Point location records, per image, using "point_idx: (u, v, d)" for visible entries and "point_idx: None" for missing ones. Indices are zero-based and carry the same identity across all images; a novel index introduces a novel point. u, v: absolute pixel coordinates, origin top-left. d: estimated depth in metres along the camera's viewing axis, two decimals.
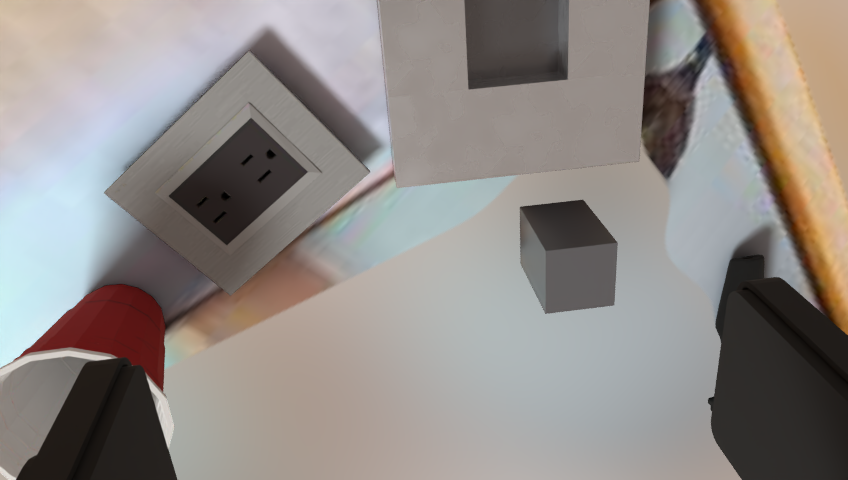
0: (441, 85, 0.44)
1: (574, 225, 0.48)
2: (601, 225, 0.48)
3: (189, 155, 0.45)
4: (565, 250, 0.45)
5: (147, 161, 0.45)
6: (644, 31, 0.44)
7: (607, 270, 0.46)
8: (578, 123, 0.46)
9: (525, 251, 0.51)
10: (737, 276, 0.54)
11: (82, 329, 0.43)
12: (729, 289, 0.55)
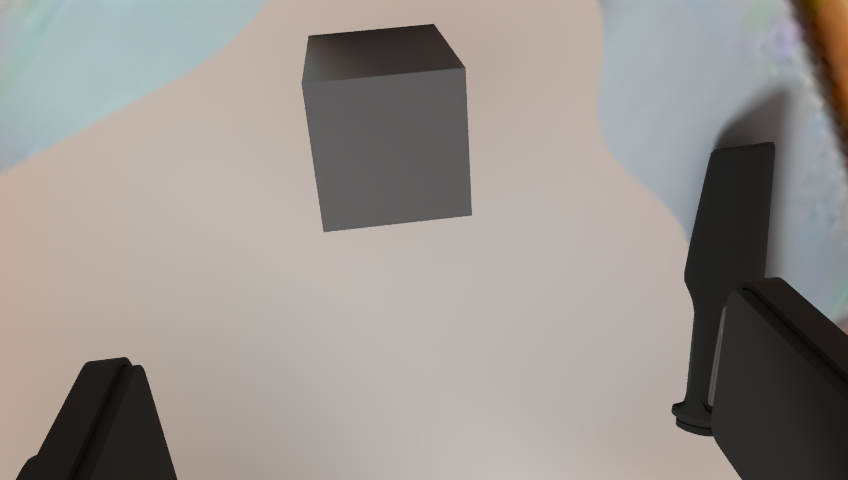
0: None
1: (393, 51, 0.23)
2: (447, 48, 0.23)
3: None
4: (347, 83, 0.20)
5: None
6: None
7: (449, 134, 0.21)
8: None
9: None
10: (724, 181, 0.29)
11: None
12: (709, 207, 0.30)
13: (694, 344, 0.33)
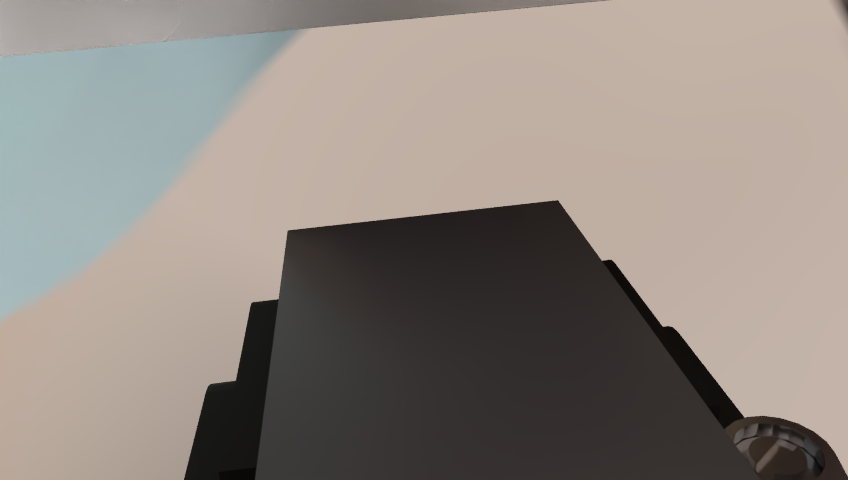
0: None
1: (502, 344, 0.09)
2: (650, 345, 0.08)
3: None
4: None
5: None
6: None
7: None
8: None
9: None
10: None
11: None
12: None
13: None
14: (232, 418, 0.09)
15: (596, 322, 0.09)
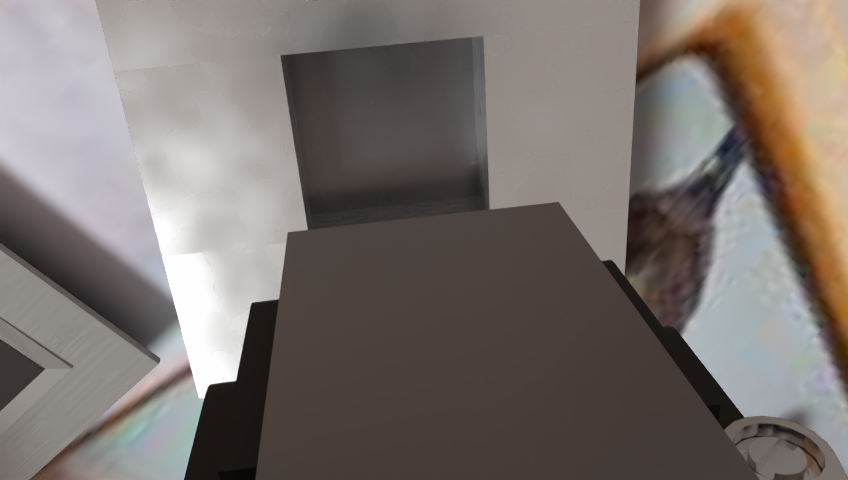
0: (258, 234, 0.24)
1: (502, 347, 0.09)
2: (652, 348, 0.08)
3: None
4: None
5: None
6: (626, 136, 0.24)
7: None
8: None
9: None
10: None
11: None
12: None
13: None
14: (232, 418, 0.09)
15: (597, 325, 0.09)
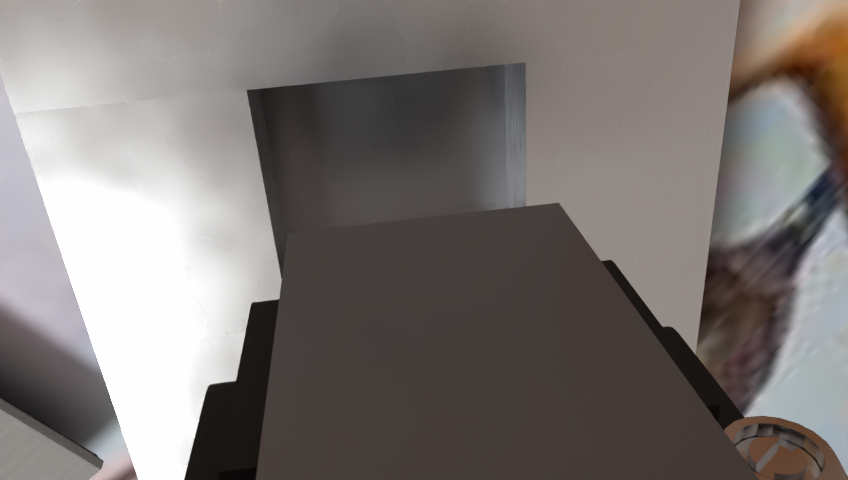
0: (223, 321, 0.18)
1: (503, 348, 0.09)
2: (652, 349, 0.08)
3: None
4: None
5: None
6: (708, 191, 0.18)
7: None
8: None
9: None
10: None
11: None
12: None
13: None
14: (232, 418, 0.09)
15: (598, 326, 0.09)
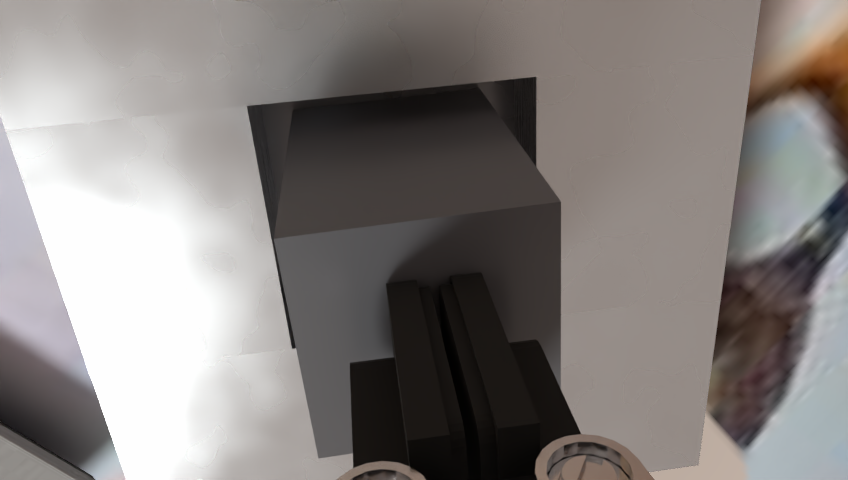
0: (222, 343, 0.18)
1: (426, 151, 0.14)
2: (514, 148, 0.14)
3: None
4: (355, 235, 0.11)
5: None
6: (725, 209, 0.18)
7: (528, 307, 0.12)
8: None
9: None
10: None
11: None
12: None
13: None
14: (404, 391, 0.09)
15: (485, 140, 0.14)
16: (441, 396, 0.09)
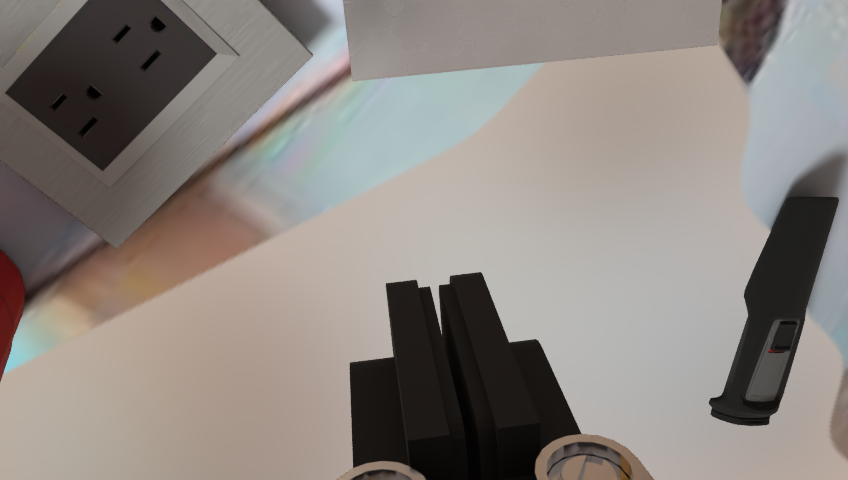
0: None
1: None
2: None
3: (31, 27, 0.29)
4: None
5: None
6: None
7: None
8: None
9: None
10: (794, 221, 0.38)
11: None
12: (778, 240, 0.39)
13: (743, 348, 0.41)
14: (404, 391, 0.09)
15: None
16: (441, 396, 0.09)
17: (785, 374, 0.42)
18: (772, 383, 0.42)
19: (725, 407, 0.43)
